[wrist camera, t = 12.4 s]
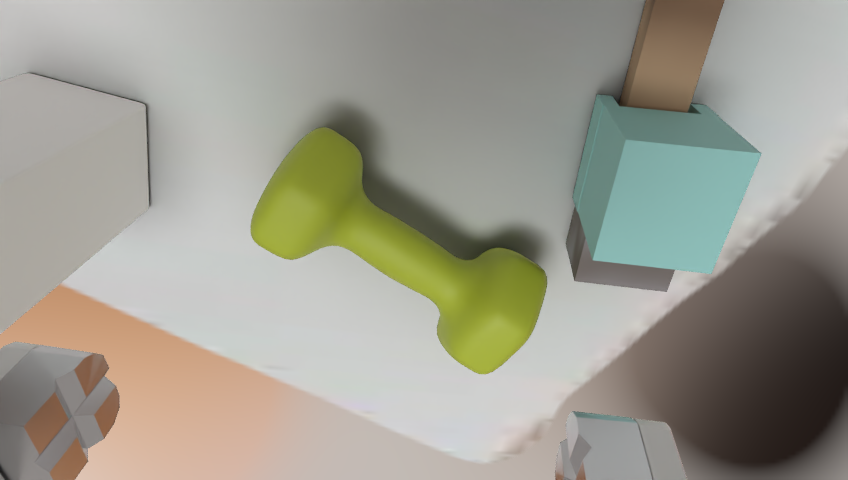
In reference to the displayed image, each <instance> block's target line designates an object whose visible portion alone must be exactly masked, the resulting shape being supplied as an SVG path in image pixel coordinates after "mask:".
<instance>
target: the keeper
mask: <svg viewBox="0 0 848 480" xmlns="http://www.w3.org/2000/svg"><path fill="white" fill-rule="evenodd" d="M760 156H761V153H760V152H759V151H758V150H757V149H756V148H754V147H753V146H752V145H751V144H750V143H749V142H747V141H746V140H745V139H744V138H743V137H742V136H740V135H739V134H738V133H737V132H736V131H735V130H733V129H732V128H731V127H730V126H729V125H728V124H726V123H725V122H724V121H723V120H722V119H721V118H719V117H718V115H717V114H716V113H715V112H713V111H712V110H711V109H710V108H709V107H707V106H706V105H699V104H690V106H689V110H688V113H684V112H674V111H664V110H653V109H643V108H633V107H623V106H619V105H618V104H617V102H616V101H615V99H614V98H613V96H607V95H597V96H596V100H595V104H594V109H593V113H592V117H591V121H590V126H589V130H588V134H587V138H586V142H585V147H584V151H583V155H582V159H581V164H580V168H579V172H578V176H577V181H576V185H575V189H574V193H573V200H574V203H575V207H576V210H577V211H578V214H579V217H580V220H581V224H582V227H583V230H584V234H585V237H586V240H587V244H588V247H589V250H590V254H591V257H592V260H595V261H603V262H612V263H621V264H630V265H638V266H647V267H656V268H665V269H673V270H682V271H691V272H700V273H708V274H711V273H712V271H713V268H714V266H715V264H716V261H717V259H718V256H719V254H720V252H721V249H722V247H723V245H724V242H725V240H726V237H727V235H728V233H729V230H730V228H731V225H732V223H733V221H734V218H735V216H736V213H737V211H738V209H739V206H740V204H741V202H742V199H743V197H744V194H745V192H746V190H747V187H748V185H749V182H750V180H751V178H752V175H753V173H754V170H755V168H756V166H757V163H758V161H759V158H760Z"/></svg>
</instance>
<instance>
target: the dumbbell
mask: <svg viewBox="0 0 848 480" xmlns="http://www.w3.org/2000/svg"><path fill="white" fill-rule="evenodd" d="M362 173H363V162H362V157H361V154H360V152H359V150H358V149H357V147H356V146H355V145H354V144H352V143H351V142H350V141H349V140H347V139H346V138H344V137H343V136H341V135H340V134H338V133H337V132H335V131H334V130H332V129H330V128H325V127H322V128H317V129H315V130H313V131H311V132H310V133H308V134H307V135H306V136H305V137H303V138H302V139H301V140H300V141H299V142H298V143H297V144H296V146H295V147H294V148H293V149H292V150H291V151H290V152H289V154H288V155H287V156H286V157H285V158H284V160H283V161H282V163H281V164H280V165H279V167H278V168H277V170H276V172H275V173H274V175H273V176H272V178H271V179H270V181H269V183H268V185H267V186H266V188H265V190H264V192H263V194H262V196H261V198H260V200H259V202H258V204H257V206H256V208H255V211H254V214H253V217H252V221H251V235H252V238H253V240H254V241H255V242H256V243H257V244H258V245H259V246H261V247H263V248H264V249H266V250H268V251H269V252H271V253H273V254H275V255H277V256H279V257H282V258H284V259H290V260H293V259H298V258H301V257H303V256H306V255H308V254H310V253H312V252H314V251H316V250H318V249H320V248H323V247H326V246H340V247H344V248H346V249H348V250H350V251H352V252H353V253H355V254H356V255H358V256H359V257H360V258H362V259H363V260H365V261H366V262H368V263H369V264H371V265H372V266H373V267H375V268H376V269H378V270H379V271H381V272H382V273H384V274H385V275H387V276H388V277H390V278H392V279H393V280H395V281H397V282H399V283H401V284H403V285H405V286H407V287H408V288H410V289H412V290H414V291H416V292H418V293H420V294H422V295H424V296H426V297H427V298H429V299H430V300H432V301H433V302H434V303H435V304H436V306H437V307H438V309H439V312H440V318H439V321H438V325H437V335H438V338H439V341H440V342H441V344H442V346H443V347H444V348H445V350H446V351H447V352H448V353H449V355H451V356H452V357H453V358H454V359H455V360H456V361H458V362H459V363H461V364H462V365H464V366H465V367H467V368H469V369H470V370H472V371H474V372H476V373H478V374H488V373H490V372H493V371H494V370H496V369H497V368H498V367H500V366H501V365H502V364H504V363H505V362H506V361H507V360H508V359H509V358H510V357H511V356H512V355H513V354H514V353H515V352H517V351H518V350H519V349H520V348H521V347H522V346H523V344H524V343H525V342H526V341H527V340H528V338H529V337H530V335H531V334H532V332H533V330H534V327H535V325H536V322H537V319H538V316H539V313H540V310H541V307H542V303H543V300H544V296H545V292H546V288H547V276H546V274H545V272H544V270H543V269H542V268H541V267H540V266H538V265H537V264H536V263H534V262H533V261H531V260H530V259H528V258H526V257H525V256H523V255H521V254H519V253H517V252H514V251H512V250H509V249H505V248H492V249H490V250H488V251H485V252H484V253H482V254H481V255H480V256H478V257H477V258H476V259H473V260H463V259H459V258H457V257H455V256H454V255H452V254H451V253H449V252H448V251H447V250H445V249H444V248H443V247H441V246H440V245H438V244H437V243H435V242H434V241H432V240H431V239H429V238H428V237H426V236H425V235H423V234H422V233H420V232H419V231H417V230H415V229H414V228H412V227H411V226H409V225H407V224H406V223H404V222H402V221H401V220H399V219H398V218H396V217H394V216H393V215H391V214H389V213H387V212H385V211H383V210H382V209H380V208H378V207H377V206H375V205H374V204H373V203H372V202H371V201H370V200H369V199H368V198H367V196H366V194H365V193H364V190H363V186H362Z"/></svg>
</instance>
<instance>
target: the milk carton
mask: <svg viewBox="0 0 848 480" xmlns="http://www.w3.org/2000/svg"><path fill="white" fill-rule="evenodd" d="M148 209H149V188H148V158H147V129H146V106H145V104H142V103H139V102H136V101H132V100H129V99H125V98H121V97H117V96H114V95H110V94H106V93H102V92H99V91H95V90H91V89H88V88H84V87H80V86H76V85H73V84H69V83H65V82H61V81H58V80H54V79H50V78H46V77H43V76H39V75H35V74H31V73H25V74H21V75H18V76H15V77H12V78H9V79H6V80H3V81H0V334H1V333H2V332H3V331H5V330H6V329H7V328H8V327H9V326H11V325H12V324H13V323H14V322H15V321H16V320H18V319H19V318H20V317H21V316H22V315H23V314H25V313H26V312H27V311H28V310H29V309H31V308H32V307H33V306H34V305H35V304H36V303H38V302H39V301H40V300H41V299H42V298H44V297H45V296H46V295H47V294H48V293H50V291H52V290H53V289H54V288H55V287H57V286H58V285H59V284H60V283H61V282H63V281H64V280H65V279H66V278H67V277H68V276H70V275H71V274H72V273H73V272H74V271H76V270H77V269H78V268H79V267H80V266H82V265H83V264H84V263H85V262H86V261H87V260H89V259H90V258H91V257H92V256H93V255H95V254H96V253H97V252H98V251H99V250H100V249H102V248H103V247H104V246H105V245H106V244H108V243H109V242H110V241H111V240H112V239H113V238H115V237H116V236H117V235H118V234H119V233H121V232H122V231H123V230H124V229H125V228H126V227H128V226H129V225H130V224H131V223H132V222H134V221H135V220H136V219H137V218H138V217H139V216H141V215H142V214H143V213H144V212H145V211H147V210H148Z"/></svg>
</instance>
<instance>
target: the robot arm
mask: <svg viewBox="0 0 848 480" xmlns="http://www.w3.org/2000/svg"><path fill="white" fill-rule="evenodd" d="M108 369H109V367H108V364H107V362H106V360H105V358H104V356H103V355H101V354H96V353H90V352H84V351H77V350H70V349H64V348H57V347H51V346H44V345H35V344H29V343H21V342H14V343H11V344H8V345H6V346H3V347H2V348H1V349H0V480H75V479H76V477H77V476H78V474H79V473H80V472H81V470H82V469H83V467H84V466H85V465H86V463H87V462H88V448H90V447H91V446H93V445H95V444H96V443H98V442H99V441H101V440H103V439H104V438H105V437H106V435H107V434H108V432H109V431H110V429H111V428H112V426H113V425H114V423H115V419H116V417H117V413H118V411H119V408H120V406H119V405H120V404H119V393H118V390H117V387H116V386H115V385H114V384H113V383H112V382H111V381H110V380H108V379H107V378H106V377H105V374H106V372H107V371H108ZM566 432H567V439H565V440H564V441H562V442H560V446H559V450H558V454H557V461H556V470H555V477H556V478H555V479H556V480H687V477H686V474H685V471H684V468H683V465H682V462H681V459H680V456H679V453H678V450H677V447H676V444H675V441H674V438H673V435H672V432H671V429H670V427H669V426H668V425H667V424H666V423H665V422H658V421H648V420H640V419H632V418H629V417H620V416H611V415H601V414H593V413H584V412H575V411H572V412H571V414H570V415H569V416H568V420H567V423H566Z"/></svg>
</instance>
